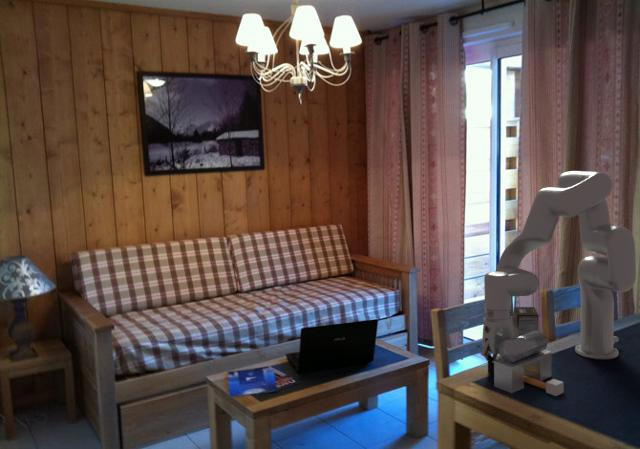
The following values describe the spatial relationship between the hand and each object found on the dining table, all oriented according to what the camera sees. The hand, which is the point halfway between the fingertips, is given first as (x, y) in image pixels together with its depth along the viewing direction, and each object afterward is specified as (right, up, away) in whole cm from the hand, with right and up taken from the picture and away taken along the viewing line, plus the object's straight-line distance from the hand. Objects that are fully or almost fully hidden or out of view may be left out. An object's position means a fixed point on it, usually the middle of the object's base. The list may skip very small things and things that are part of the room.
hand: (498, 371), depth 170 cm
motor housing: (+5, -1, -7) cm, 9 cm away
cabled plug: (+5, -1, -7) cm, 9 cm away
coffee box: (+12, +1, +9) cm, 15 cm away
